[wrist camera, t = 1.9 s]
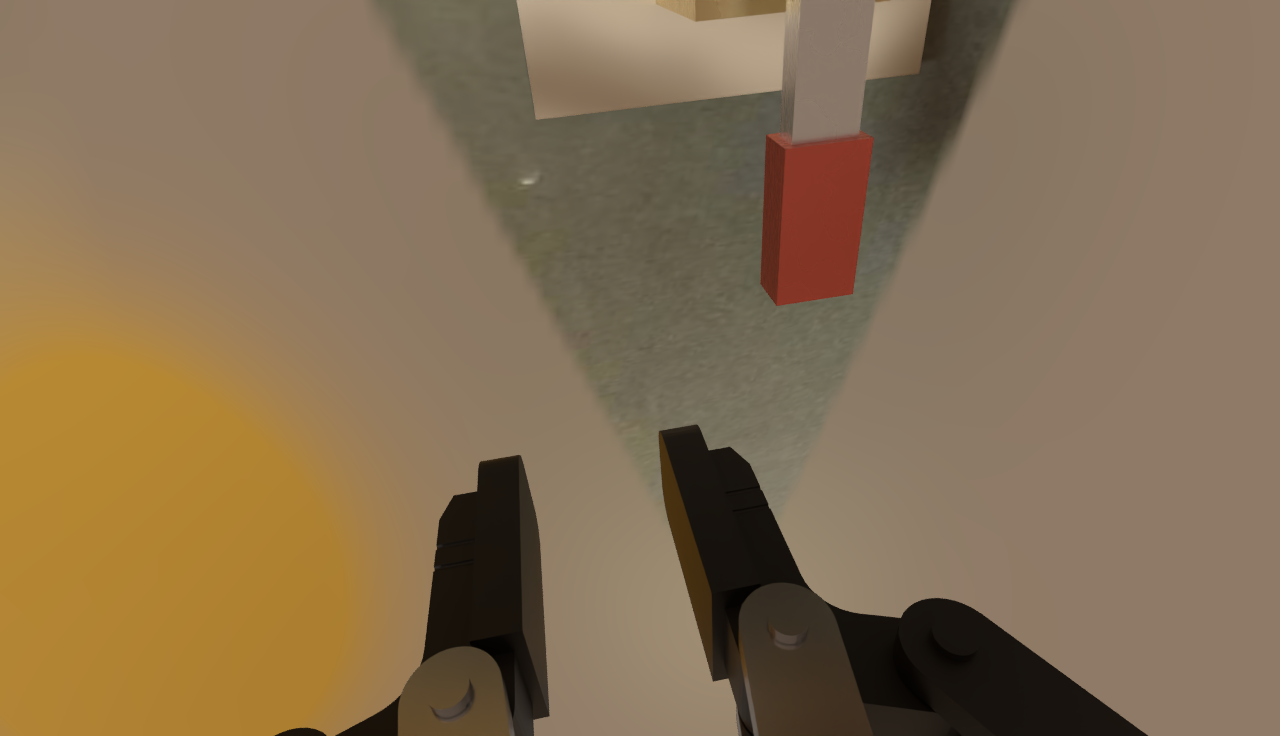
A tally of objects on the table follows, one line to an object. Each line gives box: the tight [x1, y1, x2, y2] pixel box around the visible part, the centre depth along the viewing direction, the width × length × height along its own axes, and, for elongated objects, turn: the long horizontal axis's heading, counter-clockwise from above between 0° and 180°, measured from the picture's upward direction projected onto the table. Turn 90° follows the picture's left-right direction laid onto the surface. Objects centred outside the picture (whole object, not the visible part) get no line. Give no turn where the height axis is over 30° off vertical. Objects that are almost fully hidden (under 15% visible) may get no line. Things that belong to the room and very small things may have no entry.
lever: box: [761, 0, 875, 306], centre depth 18 cm, size 12×3×2 cm, turn 5°
